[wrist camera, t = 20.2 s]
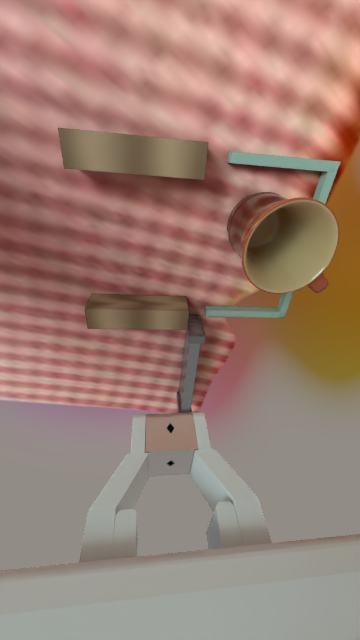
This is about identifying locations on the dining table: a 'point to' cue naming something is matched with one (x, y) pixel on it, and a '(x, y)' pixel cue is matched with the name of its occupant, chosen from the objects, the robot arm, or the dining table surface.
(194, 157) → the wooden blocks
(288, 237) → the mug
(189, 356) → the gate
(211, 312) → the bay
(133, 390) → the dining table surface
